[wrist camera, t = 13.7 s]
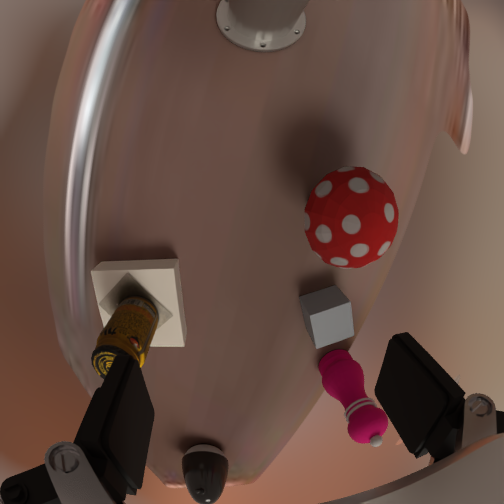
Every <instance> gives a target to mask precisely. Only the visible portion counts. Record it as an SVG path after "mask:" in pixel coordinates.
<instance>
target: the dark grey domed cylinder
mask: <svg viewBox="0 0 504 504" xmlns="http://www.w3.org/2000/svg"><path fill="white" fill-rule="evenodd" d="M182 470H183V476H184V480H185V483H186V486H187V489H188V491H189V493H190V495H191V496H192V498H193V499H194V500H195V501H196V502H198V503H200V504H213V503H215V502H216V501H217V500H218V499H219V497H220V496H221V494H222V492H223V489H224V486H225V483H226V479H227V474H228V460H227V459H226V457H225V455H224V453H223V452H222V451H221V450H220V449H218V448H217V447H215V446H212V445H206V444H201V445H196V446H193V447H191V448H190V449H188V450H187V452H186V453H185V455H184V456H183V458H182Z"/></svg>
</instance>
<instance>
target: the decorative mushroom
mask: <svg viewBox="0 0 504 504" xmlns="http://www.w3.org/2000/svg"><path fill="white" fill-rule="evenodd" d="M398 214H399V213H398V207H397V204H396V200H395V197H394V193H393V192H392V190H391V189H390V188H389V186H388V185H387V184H386V183H385V181H384V180H383V179H382V178H381V177H380V176H379V175H377V174H375V173H373V172H372V171H370V170H368V169H366V168H364V167H343V168H340V169H338V170H336V171H333V172H331V173H329V174H327V175H326V176H325V177H324V178H323V179H322V180H321V181H320V182H319V183H318V184H317V185H316V186H315V188H314V189H313V190H312V192H311V194H310V197H309V199H308V202H307V205H306V207H305V233H306V236H307V238H308V241H309V243H310V246H311V248H312V250H313V251H314V252H315V253H316V254H317V255H318V256H319V257H320V258H321V259H322V260H323V261H324V262H325V263H327V264H330V265H333V266H336V267H339V268H342V269H350V268H360V267H364V266H366V265H368V264H370V263H372V262H374V261H375V260H377V259H379V258H380V257H381V256H382V255H383V254H384V253H385V252H386V250H387V249H388V248H389V247H390V246H391V244H392V242H393V239H394V237H395V235H396V232H397V229H398Z"/></svg>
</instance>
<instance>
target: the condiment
mask: <svg viewBox="0 0 504 504" xmlns="http://www.w3.org/2000/svg"><path fill="white" fill-rule="evenodd" d="M99 305H100V306H101V307H102V308H103V309H104V310H105V311H106V312H107V313H108V314H109V315H110V316H111V318H110V320H109V321H108V323H107V324H106V326H105V327H104V328H103V330H102V332H101V333H100V335H99V337H98V339H97V345H96V348H95V350H94V351H93V354H92V357H91V360H92V365H93V367H94V369H95V370H96V372H97V373H98V374H99V375H100V376H101V377H102V378H103V379H105V377H106V375H107V373H108V371H109V369H110V366H111V364H112V362H113V360H114V358H115V356H116V355H132V356H133V358H134V359H137V360H138V361H139V364H140V368H141V367H142V365H143V364H144V362H145V359H146V357H147V353H148V351H149V347H150V344H151V342H152V339H153V337H154V334H155V331H156V330H157V329H158V328H160V327H161V326H162V325H163V324H164V323H165V322H167V321H168V320H169V319H170V318H171V317H172V316H173V315H172V314H171V313H170V312H169V311H168V310H167V309H166V308H165V307H163V306H162V305H161V304H160V303H159V302H158V301H157V300H156V299H155V298H154V297H153V296H151V295H150V294H149V293H148V292H147V291H146V290H145V289H144V288H143V287H142V286H141V285H140V284H139V283H138V282H137V281H136V280H134V279H133V278H132V277H131V276H130V275H129V274H128V273H126V274H125V275H124V276H123V278H122V279H121V280H120V281H119V282H118V283H117V284H116V285H115V286H114V287H113V288H112V289H111V291H110V292H109V293H108V294H107V295H106V296H105V297H104V298H103V299H102V301H101V302H100V303H99Z"/></svg>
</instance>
